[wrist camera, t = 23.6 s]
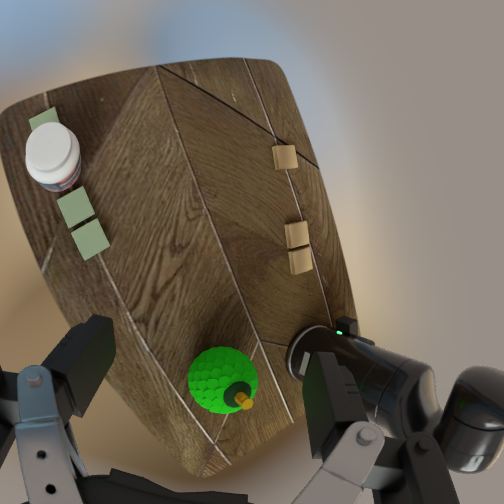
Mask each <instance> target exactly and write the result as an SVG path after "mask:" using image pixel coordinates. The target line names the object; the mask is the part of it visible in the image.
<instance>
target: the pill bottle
mask: <svg viewBox="0 0 504 504" xmlns="http://www.w3.org/2000/svg"><path fill="white" fill-rule="evenodd" d="M26 166H27V169H28V171H29V173H30V175H31V176H32V177H33V178H34V179H35V180H36V181H37V182H38V183H39V184H40V185H41V186H42V187H44V188H45V189H47V190H49V191H53V192H58V191H63V190H65V189H67V188H69V187H70V186H71V185H73V184H74V182H75V181H76V180H77V178H78V176H79V174H80V171H81V155H80V148H79V143H78V140H77V138H76V136H75V135H74V133H73V132H72V131H70V130H69V129H67V128H66V127H65V126H64V125H62V124H60V123H58V122H47V123H44V124H41V125H40V126H38V127H37V128H36V129H35V130H34V131H33V132H32V133H31V135H30V136H29V138H28V141H27V144H26Z"/></svg>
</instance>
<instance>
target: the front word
mask: <svg viewBox="0 0 504 504" xmlns="http://www.w3.org/2000/svg"><path fill="white" fill-rule="evenodd" d="M29 122H30V125H31V129H32V132H33V131H34V130H35V129H36V128H37V127H38V126H40V125H41V124H44V123H47V122H58V123H60V122H59V119H58V116H57V112H56V109H55V107H53V108H51V109H49V110H47V111H45V112H43V113H41V114H39V115H37V116H35V117H33V118H31V119H29ZM57 202H58V205H59V207H60V210H61V212H62V214H63V216H64V219H65V221H66V223H67V225H68V228H71V227H73V226H75V225H76V224H78V223H80V222H82V221H83V220H85V219H87V218H89V217H91V216H92V215H94V214H95V212H94V210H93V208H92V205H91V203H90V201H89V199H88V196H87V194H86V192H85V189H84V187H83V186H82V187H80V188H78V189H76V190H74V191H72V192H71V193H69V194H67V195H65V196H63V197H62V198H60V199H58V200H57ZM71 234H72V236H73V238H74V240H75V242H76V245H77V247H78V249H79V251H80V253H81V255H82V257H83V259H84V260H87V259H88V258H90V257H92V256H94V255H95V254H97V253H99V252H101V251H102V250H104V249H106V248H108V247H109V246H110V244H109V242H108V240H107V238H106V236H105V234H104V232H103V229H102V227H101V225H100V223H99V221H98V219H97V218H96V219H94V220H93V221H91V222H89V223H87V224H85V225H84V226H82V227H80V228H78V229H77V230H75V231H73V232H71Z"/></svg>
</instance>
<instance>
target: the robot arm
mask: <svg viewBox="0 0 504 504" xmlns="http://www.w3.org/2000/svg"><path fill="white" fill-rule="evenodd" d="M115 354H116V346H115V338H114V329H113V321H112V319H111V318H109V317H105V316H101V315H97V314H93V315H92V316H91V317H90V318H89V319H88V321H87V322H86V323H85V324H84V323H80V324H78V325H76V326H74V327H73V328H71V329H70V330H69V331H68V333H67V334H66V335H65V337H64V338H62V340H61V341H60V342H59V344H57V346H56V347H55V348H54V349H53V351H52V352H51V353H50V354H49V355H48V357H47V358H46V359H45V360H44V361H43V363H42V364H41V365H31V366H28V367H26V368H24V369H23V370H21V371H20V373H12V372H6V371H2V368H1V366H0V468H1V466H2V464H3V462H4V460H5V458H6V456H7V454H8V452H9V450H10V448H11V446H12V444H13V442H14V440H15V438H16V442H17V448H18V455H19V460H20V466H21V471H22V475H23V480H24V484H25V488H26V492H27V496H28V500H29V501H27V502H24V503H22V504H253V503H249V502H248V495H245V494H233V493H224V492H215V491H209V492H185V493H178V492H174V491H171V490H169V489H167V488H164V487H162V486H160V485H158V484H156V483H154V482H152V481H150V480H148V479H146V478H144V477H140V476H136V475H133V474H130V473H126V472H123V471H120V470H117V469H113V468H112V469H111V471H110V474H109V475H91V476H89V475H88V473H87V471H86V469H85V467H84V465H83V462H82V460H81V457H80V454H79V451H78V448H77V445H76V441H75V438H74V435H73V432H72V428H71V424H70V421H69V419H70V417H71V416H72V414H73V415H75V416H78V417H81V418H82V417H83V415H84V413H85V411H86V410H87V408H88V406H89V404H90V402H91V401H92V398H93V397H94V395H95V393H96V391H97V390H98V388H99V386H100V384H101V382H102V381H103V379H104V377H105V375H106V374H107V372H108V370H109V368H110V367H111V365H112V363H113V361H114V358H115ZM286 367H287V371H288V373H289V374H290V375H291V376H292V377H293V378H295V379H296V380H298V381H301V382H302V383H303V388H302V393H303V400H304V406H305V413H306V418H307V426H308V432H309V439H310V445H311V453H312V459H319V458H322V460H323V465H322V466H321V467H320V468H319V470H318V471H317V472H316V474H315V475H314V476H313V477H312V479H311V480H310V481H309V482H308V484H307V485H306V486H305V487H304V489H303V490H302V491H301V492H300V493H299V495H298V496H297V497H296V498H295V499H294V500H293V502H292V503H291V504H356V503H357V501H358V499H359V498H360V496H361V494H362V492H363V489H364V488H370V489H372V493H373V498H374V504H460V503H459V500H458V497H457V494H456V491H455V488H454V485H453V482H452V479H451V476H450V474H449V471H448V470H451V471H454V472H458V473H463V474H475V473H480V472H482V471H485V470H487V469H488V468H489V467H491V466H492V465H493V463H494V462H495V461H496V460H497V458H498V456H499V455H500V453H501V451H502V449H503V448H504V371H502V370H499V369H496V368H492V367H488V366H472V367H469V368H467V369H465V370H463V371H462V372H461V373H460V374H459V375H458V377H457V379H456V380H455V382H454V385H453V387H452V389H451V392H450V395H449V397H448V400H447V403H446V406H445V409H444V411H443V410H442V409H441V407H440V405H439V403H438V400H437V395H436V387H435V374H434V371H433V369H432V368H431V366H430V365H428V364H426V363H424V362H421V361H418V360H415V359H412V358H409V357H406V356H403V355H400V354H397V353H394V352H391V351H388V350H385V349H382V348H380V347H377V346H375V343H374V342H373V341H371V340H369V339H366V338H363V337H360V336H358V325H357V320H356V319H352V318H349V317H346V316H343V317H341V318H339V319H337V320H336V328H335V327H332V326H330V325H328V326H326V327H325V326H322V325H318V324H315V325H310V326H308V327H306V328H304V329H303V330H301V331H300V332H299V333H298V334H297V335H296V336H295V338H294V339H293V341H292V342H291V344H290V346H289V348H288V351H287V355H286ZM369 421H370V422H372V423H374V424H375V425H374V424H372V423H370V422H369ZM376 425H377V426H379V427H381V428H383V429H385V430H386V431H387V432H388V433H389V434H390V435H391V437H392V438H390V437H386V436H384V434H383V432H382V431H381V429H380V428H379V427H377V426H376Z"/></svg>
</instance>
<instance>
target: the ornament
mask: <svg viewBox="0 0 504 504" xmlns="http://www.w3.org/2000/svg"><path fill="white" fill-rule="evenodd" d="M189 371H190V372H189V373H188V380H189V381H188V386H189V388H190V389H191V390H190V393H191V394H192V396H193V397H194V398H195V401H196V402H197V403H199V404H200V405H201V406H202V407H204V408H206V409H209V411H211V412H215V413H221V414H226V413H232V412H236V411H238V410H240V409H242V408H243V409H245V410H246V409H249V408H251V407H252V405H253V403H254V402H253V401H252V398H253V397H254V395H255V393H256V390H257V386H258V378H257V370H256V368H254V365H253V363H252V361H251V360H249V358H248V357H247V356H246V355H245V354H242V353H241V352H240V351H239V350H236V349H233V348H231V347H223V346H220V347H213V348H210V349H209V350H206V351H204V352H202V353H201V354H200V355H199V356H198V357H197V358H195V359H194V362H193V363H192V364H191V366H190V369H189Z"/></svg>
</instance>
